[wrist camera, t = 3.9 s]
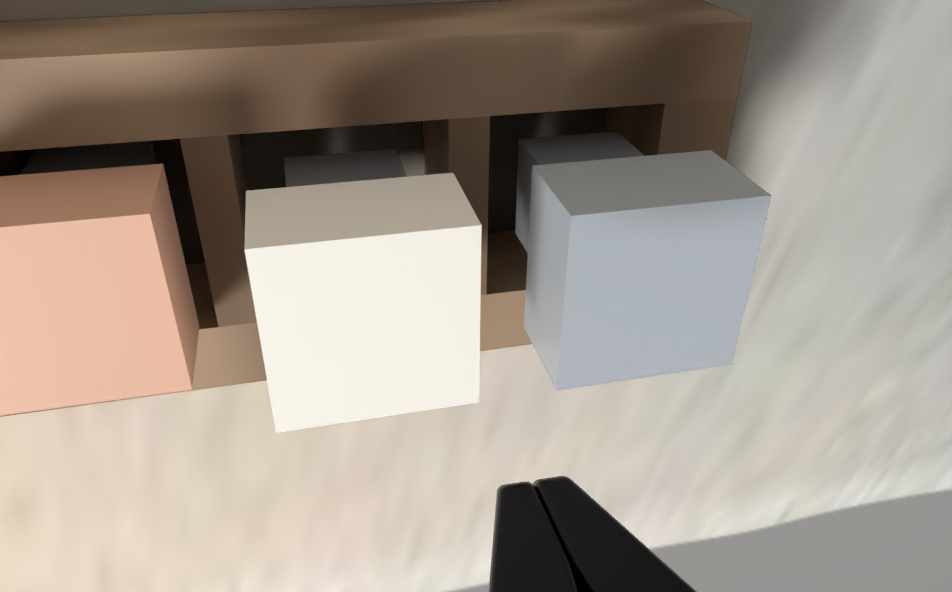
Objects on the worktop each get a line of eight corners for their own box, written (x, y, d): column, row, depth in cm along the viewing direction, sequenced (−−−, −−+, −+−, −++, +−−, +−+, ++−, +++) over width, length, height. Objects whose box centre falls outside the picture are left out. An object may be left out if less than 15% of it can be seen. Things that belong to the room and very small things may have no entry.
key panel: (685, -7, 17) (752, 21, 15) (646, 265, 21) (693, 322, 19) (-127, 26, 14) (-203, 69, 12) (-2, 342, 18) (-40, 421, 15)
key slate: (646, 102, 16) (771, 195, 12) (628, 243, 18) (731, 364, 14) (491, 113, 16) (570, 216, 12) (488, 258, 17) (556, 390, 13)
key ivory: (423, 118, 15) (481, 225, 11) (427, 265, 17) (478, 402, 13) (247, 131, 15) (243, 249, 11) (271, 283, 16) (276, 433, 12)
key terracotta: (177, 111, 16) (150, 213, 12) (206, 257, 17) (192, 389, 13) (-9, 123, 15) (-104, 236, 11) (43, 274, 17) (-23, 418, 13)
